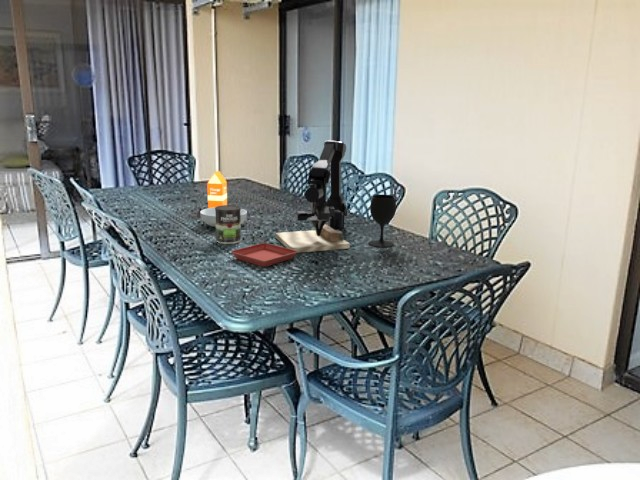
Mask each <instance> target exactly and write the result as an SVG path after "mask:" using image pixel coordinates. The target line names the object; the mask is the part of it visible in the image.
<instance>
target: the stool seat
mask: <svg viewBox="0 0 640 480" xmlns="http://www.w3.org/2000/svg"><path fill="white" fill-rule="evenodd" d="M336 231H337V232H339V241H332V242H331V241H329V240H328V239H326V238H325V237H323V236H322V235H321V234H320V236H317V234H316V231H315V229H314V230H313V229H312V230H299V231H284V232H275V239H277V240H278V241H279V242H280V243H281V244H282V245H283V247H284V248H287V249H291V250H295V251H298V252H297V254H298V253H306V252H307V253H308V252H309V253H311V252H319V251H332V250H334V251H335V250H346V249H350V247H351V246H350V242H348V241H347V240H345V239H344V232H343V231H341V230H336Z"/></svg>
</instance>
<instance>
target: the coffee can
mask: <svg viewBox="0 0 640 480" xmlns="http://www.w3.org/2000/svg"><path fill="white" fill-rule="evenodd" d="M241 209H242V207H240V206H238V205H233V204H227V205H222V206H217V207H215V213H216V227H215V242H216V243H217V242H218V244H221V245H233V244H234V245H235V244H238V243H240V242H241V241H242V236H241V235H242V232H241V226H242V225H241V224H242V223H241V216H240V210H241Z"/></svg>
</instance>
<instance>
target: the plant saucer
mask: <svg viewBox="0 0 640 480" xmlns="http://www.w3.org/2000/svg"><path fill="white" fill-rule="evenodd" d="M297 252H298V251H295V250H291V249H287V248H286V247H285V246H281V245H275V244H271V243H268V242H262V243H257V244H254V245H250V246H246V247H242V248H237V249H234V250H231V251H230V253H231V254H232V255H233V256H234V257H235V258H236V259H237V260H239V261H243V262H247V263H250V264H254V265H257V266H259V267H262V268H263V267H264V268H265V267H269V266H272V265H275V264H279V263H282V262H286V261H287V260H291V259H293V258H294V257H295V256H296V254H298V253H299V252H298V253H297Z"/></svg>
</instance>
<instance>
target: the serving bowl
mask: <svg viewBox="0 0 640 480" xmlns="http://www.w3.org/2000/svg"><path fill="white" fill-rule="evenodd" d="M199 213H200V214H199V215H200V218H201V220H202V221H203V222H204V224H206V225H208V226H209V227H214V228H216V213H215V207H213V208H208V207H207V208H205V209H204V208H203V209H202V210H200V212H199ZM240 216H241V224H243V222H245V220H246V219H247V216H248V211H247V210H246V209H243V208H241V210H240Z"/></svg>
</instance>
